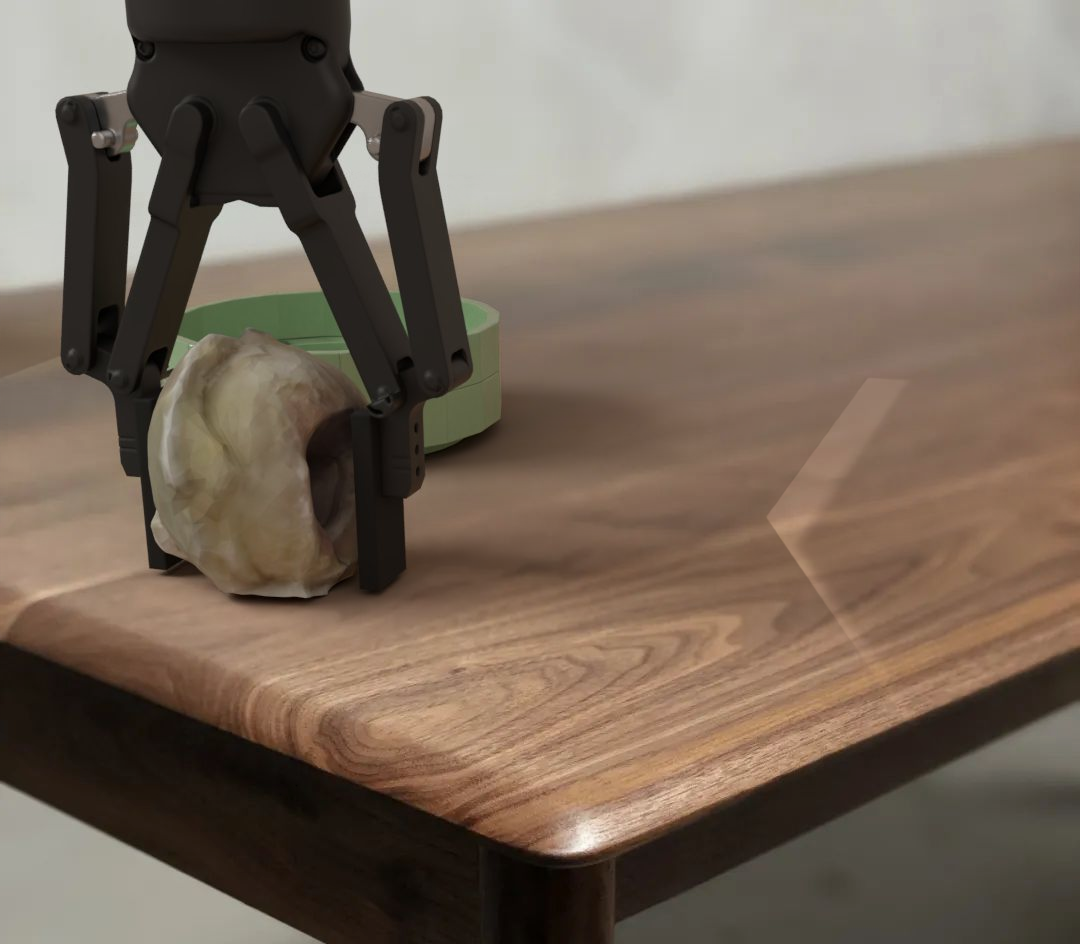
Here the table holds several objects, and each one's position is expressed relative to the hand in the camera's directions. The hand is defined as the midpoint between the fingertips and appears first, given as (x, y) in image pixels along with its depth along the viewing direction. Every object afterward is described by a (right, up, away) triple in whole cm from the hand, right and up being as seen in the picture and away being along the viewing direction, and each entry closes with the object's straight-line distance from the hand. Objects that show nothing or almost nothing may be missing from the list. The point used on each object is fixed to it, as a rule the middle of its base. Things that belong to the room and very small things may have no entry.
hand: (277, 568), depth 70 cm
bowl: (0, +8, +21) cm, 22 cm away
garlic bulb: (0, 0, 0) cm, 1 cm away
